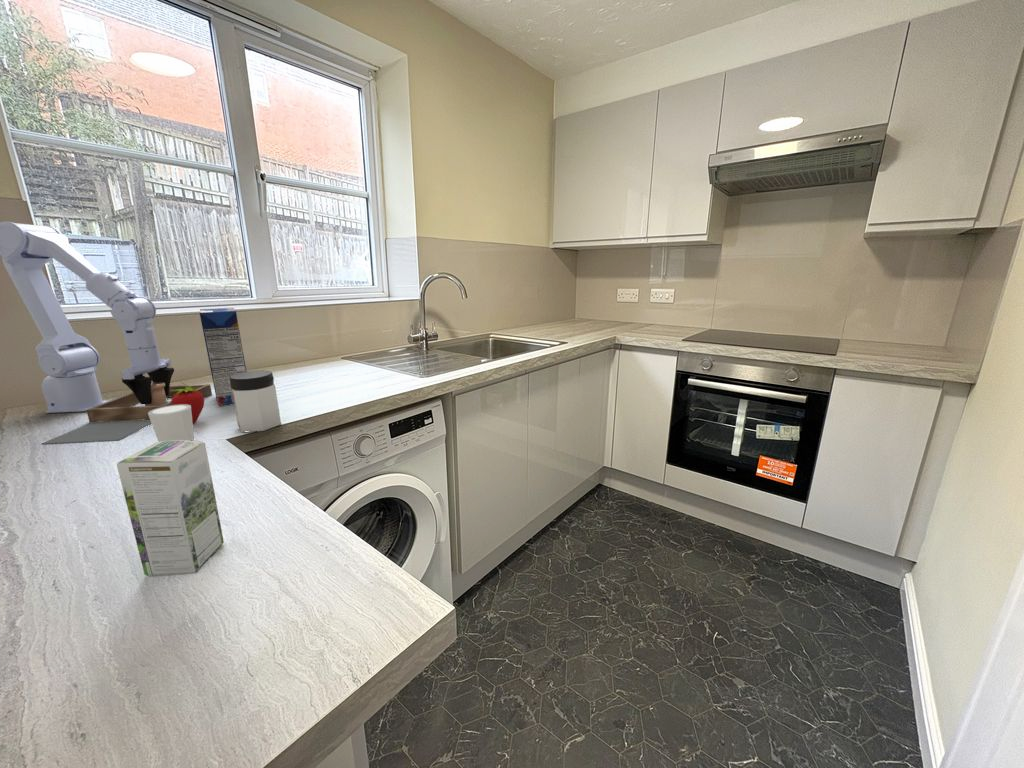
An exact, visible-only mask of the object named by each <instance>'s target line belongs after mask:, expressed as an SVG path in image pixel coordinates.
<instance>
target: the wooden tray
mask: <svg viewBox="0 0 1024 768" xmlns="http://www.w3.org/2000/svg"><path fill="white" fill-rule="evenodd" d="M186 385H187V387H191V388H198V389H195V390H196V391H199V392H200V393H202V394H203V397H204V398H205V399H206V397H207V398H208V397H210V396H212V395H213V392H212V387H211V384H208V383H207V384H186ZM186 385H185V384H181V385H170V388H169V396H166V398H172V397H173V396H174V395H175V394H177V393H178V392H179V391H171V390H177V389H185V388H186ZM138 404H140V402H139V400H138V399H137V397H136V396H135V394H134V393H133V391H131V392H128V393H126V394H124V395H121V396H118V397H116V398H114V399H113V398H112V399H111V400H110V401H108V402H105V403H103V404H100V405H97V406H95V407H92V408H89V409H87V410H86V411H85V412H86V416H87V419H88V421H89V423H92V422H91V421H103V422H115V421H124V420H126V421H138V420H142V419H148V420H150V418H149V415H148V412H149V411H151V410H154V409H157V408H160V407H164V406H170V405H172V404H171V400H170V401H167V403H166V404H164V405H161V406H145V405H143V406H139V405H138ZM135 405H138V406H135Z"/></svg>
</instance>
